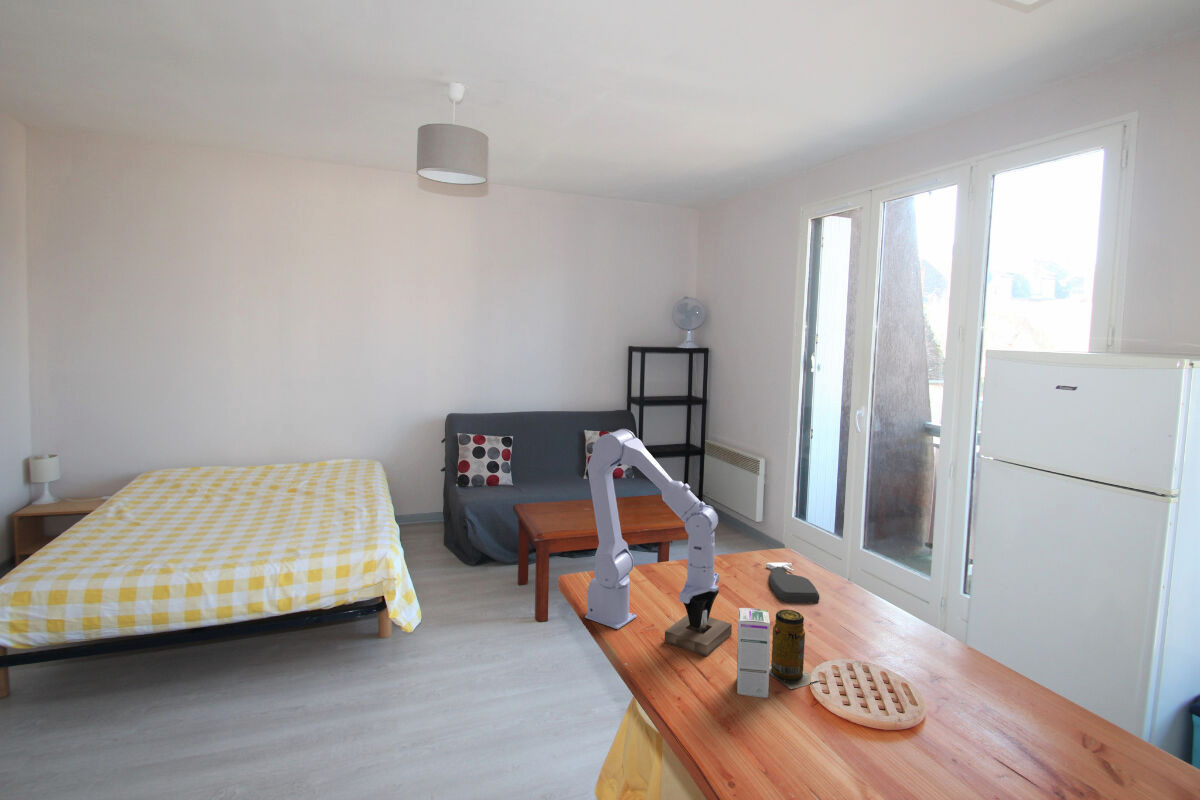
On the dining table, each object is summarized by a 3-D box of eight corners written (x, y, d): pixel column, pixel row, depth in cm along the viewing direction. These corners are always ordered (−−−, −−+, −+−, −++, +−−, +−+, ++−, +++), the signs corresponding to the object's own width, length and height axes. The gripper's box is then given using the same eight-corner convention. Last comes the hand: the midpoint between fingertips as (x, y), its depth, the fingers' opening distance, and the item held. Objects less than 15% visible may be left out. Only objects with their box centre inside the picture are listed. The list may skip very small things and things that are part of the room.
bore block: (664, 641, 134) (664, 630, 133) (691, 621, 143) (691, 611, 143) (706, 656, 128) (706, 645, 128) (731, 634, 137) (731, 623, 137)
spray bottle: (778, 604, 154) (757, 568, 179) (823, 605, 154) (795, 569, 178) (779, 592, 154) (757, 558, 178) (823, 593, 154) (796, 559, 178)
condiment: (788, 660, 127) (791, 604, 126) (819, 681, 119) (822, 622, 118) (760, 668, 124) (762, 611, 122) (790, 690, 116) (793, 629, 115)
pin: (689, 635, 135) (689, 609, 134) (696, 630, 138) (696, 604, 137) (702, 640, 133) (702, 613, 133) (709, 634, 136) (709, 608, 135)
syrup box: (768, 698, 113) (772, 623, 112) (735, 694, 115) (738, 619, 113) (766, 681, 119) (770, 609, 117) (735, 678, 120) (738, 606, 119)
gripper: (701, 578, 126) (699, 641, 127) (732, 557, 137) (730, 616, 139) (671, 569, 130) (669, 631, 131) (703, 550, 141) (701, 608, 143)
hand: (698, 623), depth 135 cm, fingers closed on pin, 3 cm apart
